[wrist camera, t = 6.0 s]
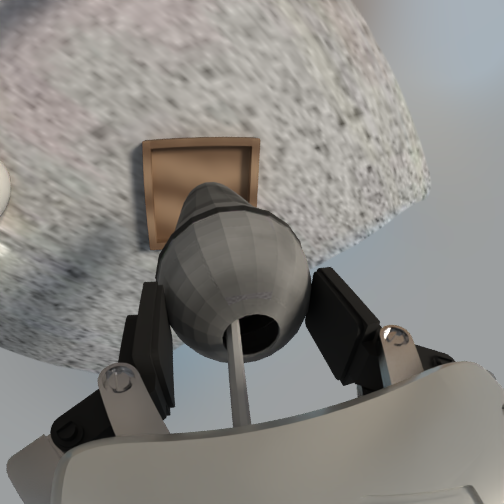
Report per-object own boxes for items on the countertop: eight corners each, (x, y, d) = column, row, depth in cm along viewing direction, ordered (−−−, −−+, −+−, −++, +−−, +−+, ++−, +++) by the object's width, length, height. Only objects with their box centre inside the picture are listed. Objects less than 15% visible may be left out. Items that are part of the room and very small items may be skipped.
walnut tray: (145, 140, 33) (142, 141, 30) (255, 137, 36) (260, 138, 34) (152, 242, 39) (150, 250, 37) (250, 236, 43) (254, 243, 40)
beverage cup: (258, 236, 25) (383, 441, 8) (180, 255, 24) (199, 497, 7) (245, 157, 22) (450, 302, 4) (158, 177, 21) (76, 409, 3)
